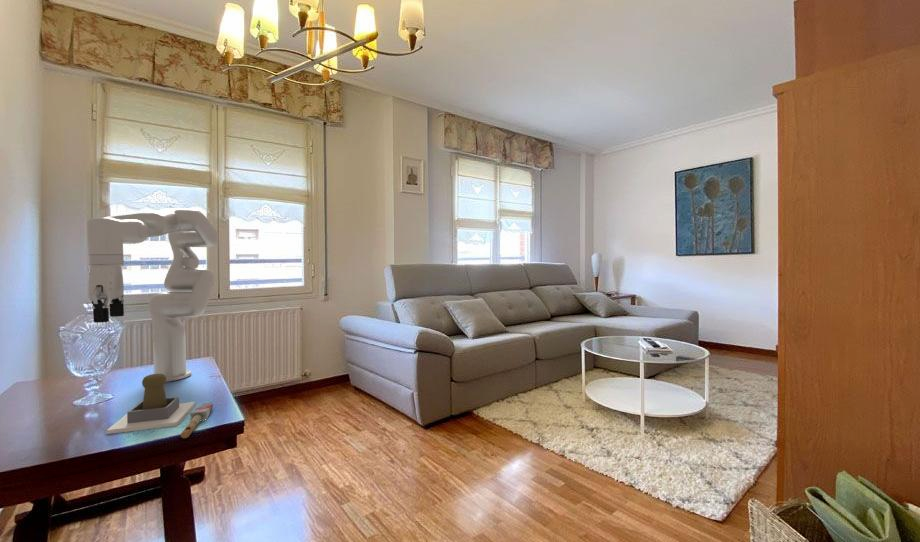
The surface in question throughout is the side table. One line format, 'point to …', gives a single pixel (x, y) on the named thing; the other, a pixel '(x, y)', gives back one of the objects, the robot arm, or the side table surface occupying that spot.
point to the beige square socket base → (152, 417)
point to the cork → (154, 391)
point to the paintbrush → (197, 418)
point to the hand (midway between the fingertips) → (109, 319)
